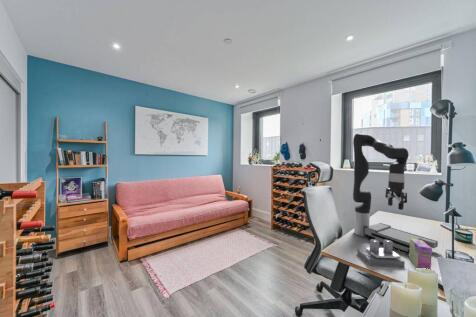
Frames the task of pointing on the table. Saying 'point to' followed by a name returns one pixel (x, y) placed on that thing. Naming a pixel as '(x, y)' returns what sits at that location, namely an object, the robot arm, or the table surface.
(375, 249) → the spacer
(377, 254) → the scale pan
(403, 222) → the table surface
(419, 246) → the box
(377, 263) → the scale base
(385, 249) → the spacer
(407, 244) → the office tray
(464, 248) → the table surface
